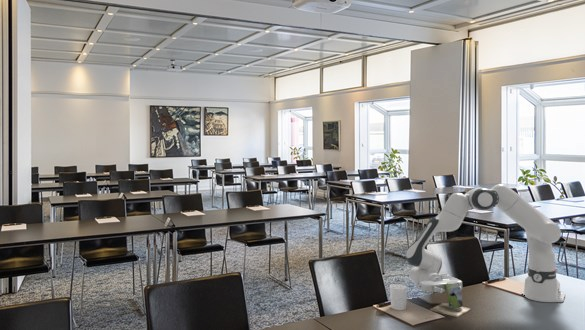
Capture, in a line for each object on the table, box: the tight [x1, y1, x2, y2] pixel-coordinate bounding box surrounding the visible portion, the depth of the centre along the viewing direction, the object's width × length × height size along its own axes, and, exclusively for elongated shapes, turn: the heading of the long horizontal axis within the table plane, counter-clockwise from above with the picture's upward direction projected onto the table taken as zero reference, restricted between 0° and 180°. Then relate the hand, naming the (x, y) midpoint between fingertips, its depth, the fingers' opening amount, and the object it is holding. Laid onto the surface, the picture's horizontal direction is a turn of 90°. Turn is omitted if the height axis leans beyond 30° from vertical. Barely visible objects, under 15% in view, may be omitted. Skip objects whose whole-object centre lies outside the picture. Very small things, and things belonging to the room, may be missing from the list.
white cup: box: [389, 283, 408, 311], centre depth 220 cm, size 8×8×10 cm
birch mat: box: [429, 302, 472, 318], centre depth 216 cm, size 13×13×1 cm
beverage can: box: [446, 281, 464, 309], centre depth 218 cm, size 6×7×12 cm
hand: (451, 290), depth 216 cm, fingers open, 8 cm apart
